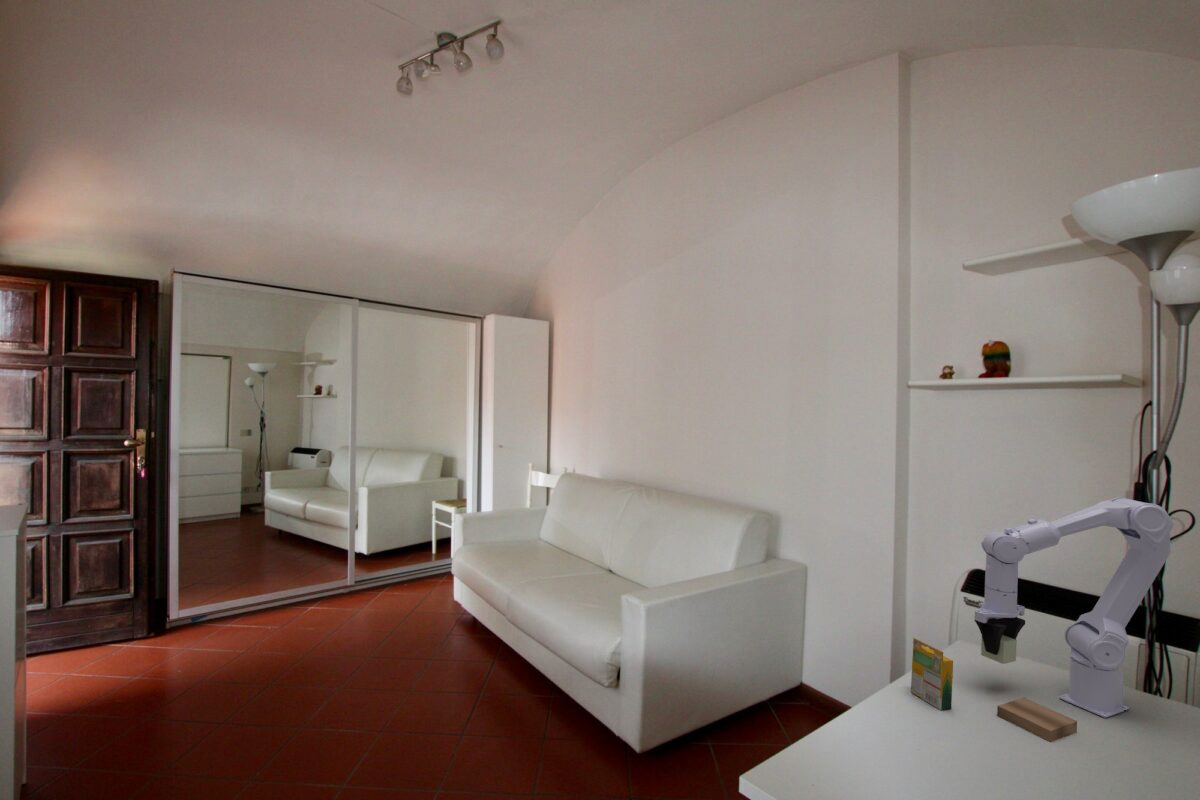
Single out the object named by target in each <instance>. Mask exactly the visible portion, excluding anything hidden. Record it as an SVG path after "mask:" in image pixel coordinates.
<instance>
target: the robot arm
mask: <svg viewBox="0 0 1200 800" xmlns="http://www.w3.org/2000/svg"><path fill="white" fill-rule="evenodd" d="M1174 526H1175V523H1174V521H1173V520H1172V517H1170V515H1169V514H1168V512H1167V510H1166V509H1164V508H1163V506H1161V505H1158V504H1155V503H1151V502H1150V503H1149V502H1143V501H1138V500H1134V499H1131V498H1128V497H1125V496H1124V497H1123V496H1118V497H1115V498H1111V499H1109V500H1107V499H1106V500H1103V501H1099V502H1098V503H1096V504H1094V505H1092V506H1090V507H1087V508H1086V507H1085V508H1084V509H1081V510H1078V511H1076V512H1074V513H1071V514H1068V515H1066V516H1063V517H1060V518H1059V519H1056V520H1053V521H1048V520H1047V521H1046V520H1044V519H1035V518H1030V519H1028V520H1027V523H1025V524H1021V525H1018V526H1016V527H1013V528H1011V527H1006V528H1004V532H1001V531H993V532H989V533H988V534H986V536H985V537H984V538H983V540H982V541H981V542H980V544H981V548H982V550H983V551H984V553H985V554H986V555H985V558H986V559H985V571H984V572H985V573H984V574H985V575H984V601H983V602H979V603H978V607H979V609H977V610H974V622H975V624H976V625H977V627H978V629H979V632H980V635H981V639H982V638H983V642H984V646H985V650H986V651H987V652H989V653H992V654H994V655H997V654H998V652H999V647H1000V641H1001V637H1002V635H1004V636H1007V637H1010V638H1012V639H1015V640H1017V638H1018V635H1019V633H1020V632H1021V631H1022V629H1023V627H1024V626H1025V625H1026V620H1025V619H1023V618H1020V617H1018V616H1021V617H1022V616H1023V617H1024V616H1025V611H1026V610H1025V609H1026V608H1025V606H1023V605H1019V604H1018V584H1019V583H1018V582H1019V580H1018V576H1019V563H1020V562H1021V561H1023V558H1025V556H1026V555H1029V554H1033V553H1036V552H1040V551H1042V550H1046V549H1047V548H1051V547H1054V546H1055V547H1056V546H1058V544H1059V542H1060V540H1061V538H1062V537H1066V536H1069V535H1074V534H1078V533H1080V532H1081V533H1082V532H1085V531H1088V530H1092V529H1096V528H1099V527H1108V528H1109V527H1111V528H1115V529H1117V530H1118V531H1119V532H1120V533H1121V534H1122V536H1123V538H1124V539H1125V540H1126V541H1125V542H1126V543H1127V545H1129V549H1128V550H1127V552H1126V554H1125V555H1124V556H1123V558H1122V561H1121V562H1120V563H1119V566H1118V568H1117V569H1116V570H1115V572H1114V574H1113V575H1112V577H1111V579H1110V580H1109V582H1108V584H1107V585H1106V587H1105V589H1104V590H1103V592H1102V594H1101V595H1100V597H1099V599H1098V601H1097V602H1096V604H1095V605H1094V607H1093V608H1092V610H1091V611H1089V612H1085V613H1083V614H1081V615H1079V617H1078V619H1076V621H1075V622H1073V623H1071V624H1069V625H1068V626H1067V627H1066V628H1065V630H1064V640H1065V642H1066V643H1067V645H1068V646H1069V647H1070V655H1069V656H1070V658H1069V680H1068V681H1069V682H1068V683H1069V684H1068V685H1069V686H1068V688H1069V689H1068V690H1069V691H1068V692H1067V693H1065V694H1062V695H1061V694H1060V695H1059V699H1060V700H1063V701H1065V702H1067V703H1070V704H1072V705H1074V706H1077V707H1079V708H1081V709H1084V710H1086V711H1089V712H1090V713H1092V714H1095V715H1098V716H1100V717H1102V718H1110V717H1111V716H1115V715H1117V714H1120V713H1123V712H1125V711H1124V710H1126V711H1128V710H1127V709H1129V708H1130V707H1129V706H1127V705H1124V685H1125V684H1124V683H1125V682H1124V681H1125V677H1124V673H1123V671H1122V670H1121V669H1120V667H1121V666H1122V665H1123V664H1124V663H1125V661H1126V649H1127V646H1128V645H1129V637H1128V635H1127V631H1126V627H1127V625H1128V623H1129V622H1130V621H1131V618H1132V617H1133V616H1134V614H1135V612H1136V611H1137V609H1138V607H1139V605H1140V604H1141V602H1142V601H1143V599H1144V597H1145V596H1146V594H1147V592H1148V591H1149V589H1150V587H1151V586H1152V584H1153V583H1154V581H1155V579H1156V577H1157V576H1158V575H1159V573H1160V571H1161V570H1162V568H1163V566H1164V565H1165V562H1166V561H1167V560H1168V558H1169V556H1170V554H1171V531H1172V529H1173V528H1174ZM1129 710H1130V709H1129Z"/></svg>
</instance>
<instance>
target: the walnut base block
mask: <svg viewBox="0 0 1200 800" xmlns="http://www.w3.org/2000/svg"><path fill="white" fill-rule="evenodd" d="M996 707H997V709H996V710H997V711H996V712H997V713H996V716H997V717H998V718H1001V719H1002V720H1004V721H1007V722H1008V723H1010V724H1013V725H1015V726H1017V727H1019V728H1021V729H1023V730H1024V731H1027V732H1029V733H1031V734H1033V735H1036V736H1037V737H1039V738H1041V739H1043V740H1046V741H1047V742H1049V743H1052V742H1055V741H1057V740H1060V739H1063V738H1065V737H1067V736H1071V735H1073V734H1076V733H1077V732H1078V721H1077V720H1075V719H1073V718H1071V717H1069V716H1066V715H1064V714H1062V713H1059V712H1057V711H1055V710H1053V709H1050V708H1048V707H1046V706H1044V705H1042V704H1039V703H1037V702H1036V701H1032V700H1030V699H1028V698H1026V697H1021V698H1018V699H1015V700H1011V701H1009V702H1005V703H1002V704H998V705H997V706H996Z"/></svg>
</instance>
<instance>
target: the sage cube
mask: <svg viewBox="0 0 1200 800" xmlns="http://www.w3.org/2000/svg"><path fill="white" fill-rule="evenodd" d="M1017 644H1018V643H1017V639H1016V640H1015V639H1012V638H1010V637H1007V636H1004V635H1002V637H1001V641H1000V647H999V652H998V654H997V655H994V654H992V653H989V652H987V651H986V650H985V646H984V642H983V638H982V637H981V646H980V651H981V653H980V656H983V657H985V658H987V659H989V660H993V661H995V662H997V663H999V664H1002V665H1005V664H1009V663H1013V662H1017Z"/></svg>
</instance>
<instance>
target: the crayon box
mask: <svg viewBox="0 0 1200 800" xmlns="http://www.w3.org/2000/svg"><path fill="white" fill-rule="evenodd" d="M912 639H913V641H912V643H913V644H912V645H913V647H912V660H911V661H912V662H911V664H912V665H911V680H910V681H911V682H910V683H911V684H910V693H911V694H912V695H914V696H917V697H918V698H920V699H922V700H923V701H925V702H927V703H928V704H930V705H932V706H933V707H934V708H936V709H938V710H939V711H945V710H951V709H952V700H953V679H954V678H953V676H954V672H953V671H954V660H953V659H952V658H951V659H950V658H948V657H946V656H944V652H943V651H942V650H941V649H938V648H935V647H934V646H932V645H929V644H928V643H926V642H923V641H921V640H919V639H917V638H915V637H913V638H912Z"/></svg>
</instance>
